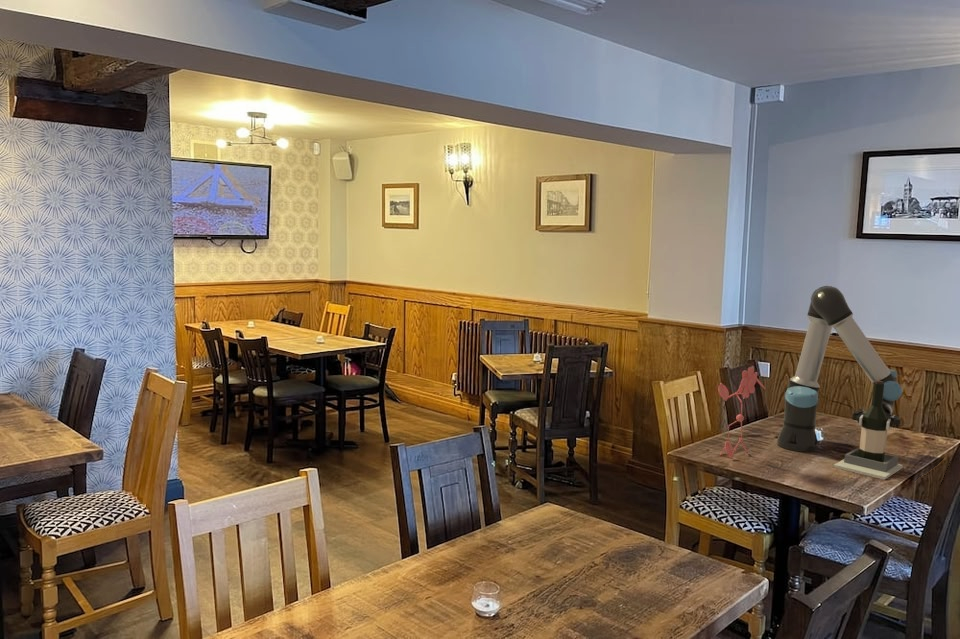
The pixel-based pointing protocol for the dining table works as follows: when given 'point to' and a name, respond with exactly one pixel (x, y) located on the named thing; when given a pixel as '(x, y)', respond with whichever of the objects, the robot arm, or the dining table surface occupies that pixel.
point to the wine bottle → (874, 427)
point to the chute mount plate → (869, 465)
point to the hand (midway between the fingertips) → (873, 423)
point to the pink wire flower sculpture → (747, 388)
